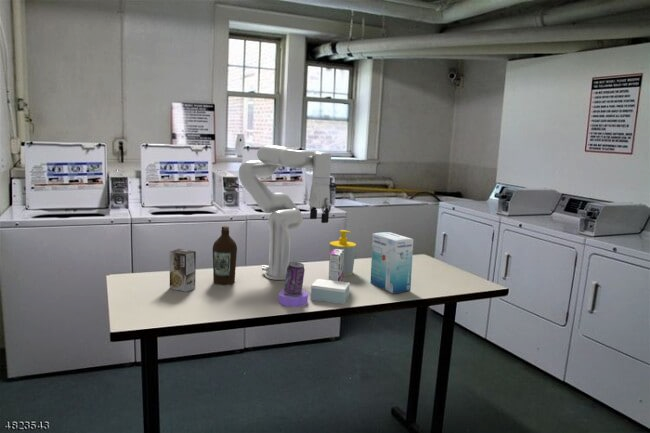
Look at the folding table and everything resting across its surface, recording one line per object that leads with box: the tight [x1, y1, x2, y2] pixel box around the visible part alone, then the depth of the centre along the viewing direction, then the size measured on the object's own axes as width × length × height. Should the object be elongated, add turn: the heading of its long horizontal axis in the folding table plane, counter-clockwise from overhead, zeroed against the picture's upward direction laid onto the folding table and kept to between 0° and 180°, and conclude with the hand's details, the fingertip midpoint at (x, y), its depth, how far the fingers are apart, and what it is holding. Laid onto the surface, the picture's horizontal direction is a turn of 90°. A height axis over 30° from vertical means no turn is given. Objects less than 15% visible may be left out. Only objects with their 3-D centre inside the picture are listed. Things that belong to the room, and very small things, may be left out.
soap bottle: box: [329, 229, 357, 277], centre depth 251 cm, size 13×13×21 cm
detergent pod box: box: [310, 278, 351, 305], centre depth 213 cm, size 14×10×6 cm
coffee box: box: [168, 248, 197, 293], centre depth 214 cm, size 9×6×16 cm
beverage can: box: [283, 261, 305, 295], centre depth 204 cm, size 7×7×12 cm
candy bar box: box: [328, 249, 344, 282], centre depth 227 cm, size 11×5×16 cm, turn 168°
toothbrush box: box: [370, 231, 414, 294], centre depth 231 cm, size 18×10×24 cm, turn 30°
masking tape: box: [278, 289, 309, 308], centre depth 206 cm, size 12×12×4 cm
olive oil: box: [212, 225, 238, 286], centre depth 225 cm, size 11×11×25 cm
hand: (318, 220), depth 221 cm, fingers open, 9 cm apart
